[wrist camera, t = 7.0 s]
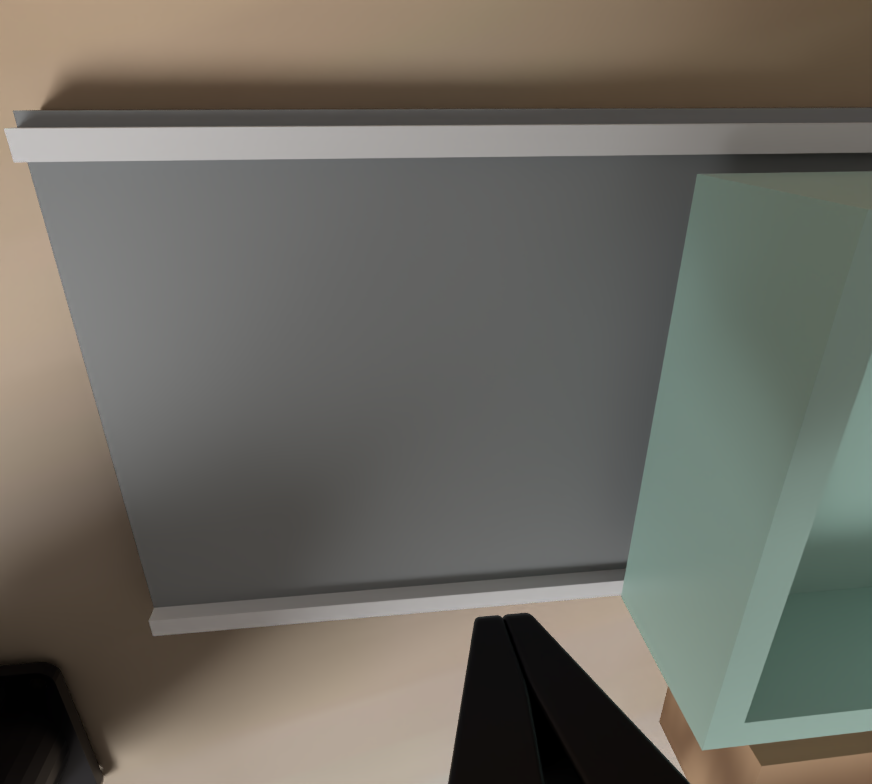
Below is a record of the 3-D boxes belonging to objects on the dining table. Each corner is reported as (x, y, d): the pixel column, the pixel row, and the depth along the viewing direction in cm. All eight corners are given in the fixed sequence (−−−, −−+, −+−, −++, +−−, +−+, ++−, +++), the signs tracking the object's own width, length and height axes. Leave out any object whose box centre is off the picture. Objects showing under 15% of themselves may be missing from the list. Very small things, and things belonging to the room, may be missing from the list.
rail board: (1026, 533, 22) (1135, 604, 19) (170, 604, 19) (132, 702, 16) (1260, 106, 15) (1480, 106, 12) (38, 110, 12) (-68, 112, 9)
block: (773, 707, 25) (864, 840, 20) (658, 720, 24) (726, 860, 20) (805, 618, 22) (915, 746, 18) (679, 631, 22) (761, 766, 17)
